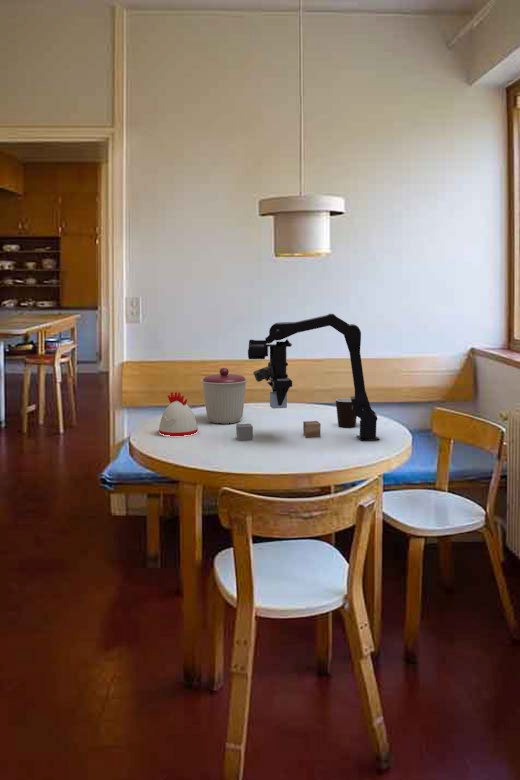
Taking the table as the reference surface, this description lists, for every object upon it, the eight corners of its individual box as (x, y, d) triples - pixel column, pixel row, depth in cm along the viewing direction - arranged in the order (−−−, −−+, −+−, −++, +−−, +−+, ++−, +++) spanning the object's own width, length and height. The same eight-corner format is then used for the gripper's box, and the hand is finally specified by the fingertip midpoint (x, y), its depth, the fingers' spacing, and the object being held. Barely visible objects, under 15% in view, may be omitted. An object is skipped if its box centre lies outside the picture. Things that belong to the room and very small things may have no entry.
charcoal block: (252, 440, 255) (252, 426, 254) (238, 441, 254) (238, 427, 253) (250, 437, 260) (250, 423, 259) (236, 438, 259) (236, 424, 258)
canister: (247, 416, 297) (247, 364, 293) (248, 426, 279) (247, 370, 275) (202, 417, 296) (201, 365, 293) (200, 426, 278) (199, 371, 275)
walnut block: (320, 437, 259) (320, 423, 258) (306, 438, 258) (306, 424, 257) (316, 434, 263) (317, 420, 263) (303, 435, 263) (303, 421, 262)
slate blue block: (286, 408, 255) (286, 393, 254) (272, 408, 254) (272, 394, 253) (283, 405, 260) (283, 391, 259) (269, 406, 259) (269, 391, 258)
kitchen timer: (175, 427, 277) (174, 388, 275) (205, 431, 270) (204, 391, 268) (151, 434, 265) (150, 393, 263) (182, 438, 258) (181, 396, 256)
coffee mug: (351, 429, 271) (351, 402, 269) (331, 426, 276) (331, 400, 275) (366, 424, 280) (366, 398, 279) (346, 421, 285) (347, 396, 284)
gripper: (250, 357, 262) (251, 400, 265) (259, 363, 244) (260, 409, 246) (281, 356, 264) (281, 399, 266) (292, 362, 246) (292, 408, 248)
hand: (278, 404), depth 257 cm, fingers closed on slate blue block, 5 cm apart
